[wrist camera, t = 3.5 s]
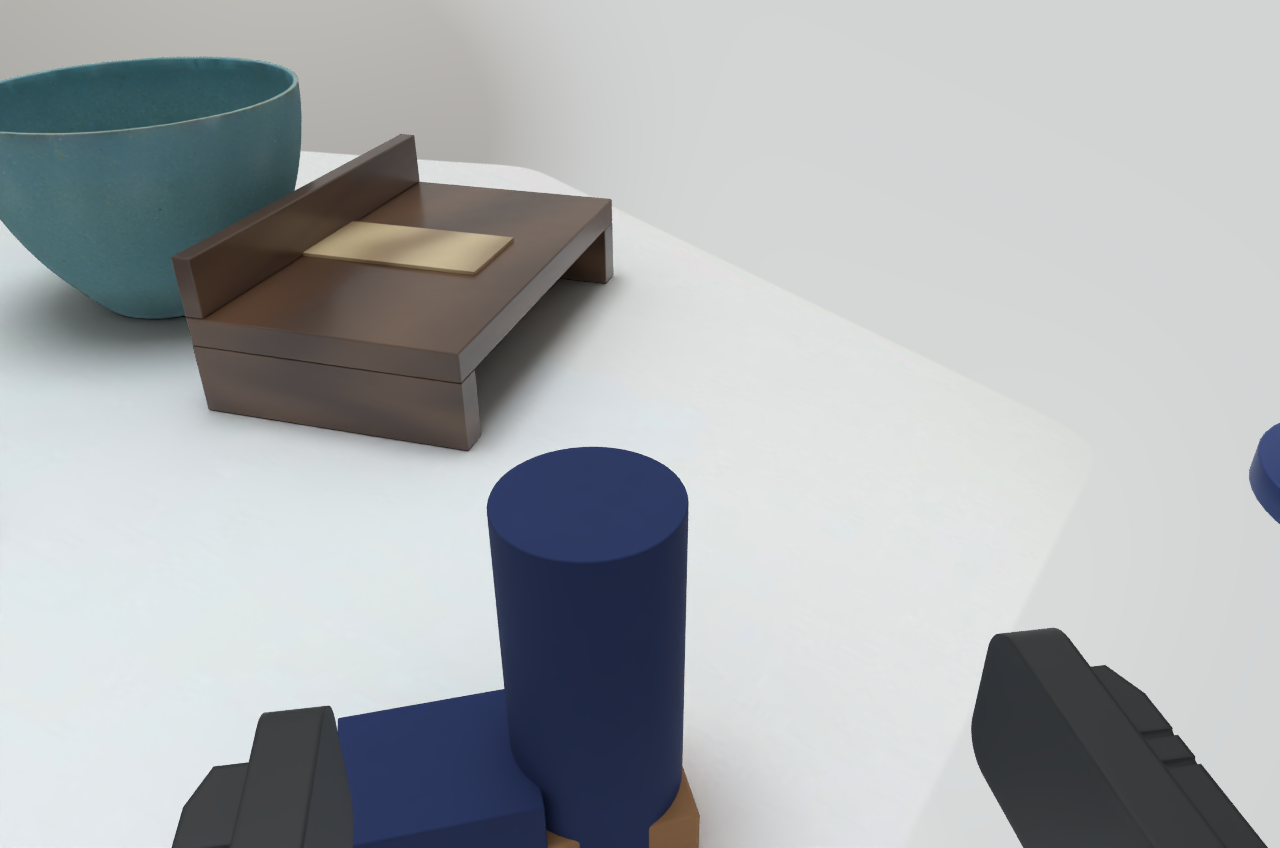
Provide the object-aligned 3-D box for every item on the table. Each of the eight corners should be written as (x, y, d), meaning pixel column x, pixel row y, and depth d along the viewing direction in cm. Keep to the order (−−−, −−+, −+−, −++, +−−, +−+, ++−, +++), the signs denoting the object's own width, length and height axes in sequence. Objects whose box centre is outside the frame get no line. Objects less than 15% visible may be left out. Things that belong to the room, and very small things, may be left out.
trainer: (658, 731, 32) (659, 435, 27) (700, 859, 28) (714, 543, 23) (354, 788, 30) (288, 484, 25) (354, 935, 26) (275, 611, 21)
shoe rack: (613, 274, 65) (610, 150, 61) (468, 451, 47) (451, 290, 43) (415, 253, 68) (400, 133, 64) (208, 409, 50) (169, 256, 46)
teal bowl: (232, 372, 54) (177, 139, 47) (-63, 342, 57) (-151, 120, 51) (378, 250, 69) (351, 61, 63) (139, 232, 72) (91, 51, 66)
